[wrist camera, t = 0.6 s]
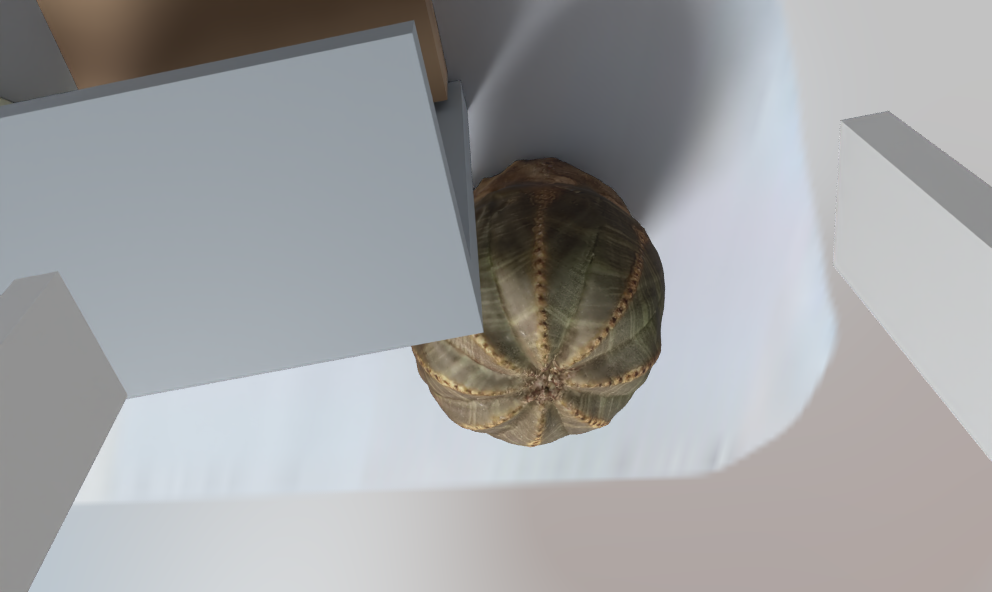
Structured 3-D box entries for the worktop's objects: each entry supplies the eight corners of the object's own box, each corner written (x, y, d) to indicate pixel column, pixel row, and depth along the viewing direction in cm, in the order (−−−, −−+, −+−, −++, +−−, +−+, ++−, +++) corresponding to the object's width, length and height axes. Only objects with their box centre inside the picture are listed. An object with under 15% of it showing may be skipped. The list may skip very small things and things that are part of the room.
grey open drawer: (74, -1, 34) (-237, 166, 18) (427, -76, 33) (412, 32, 17) (152, 175, 38) (-47, 431, 22) (467, 112, 37) (483, 332, 22)
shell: (403, 143, 38) (387, 271, 27) (637, 126, 38) (708, 247, 28) (426, 335, 43) (421, 501, 33) (630, 320, 44) (687, 479, 33)
